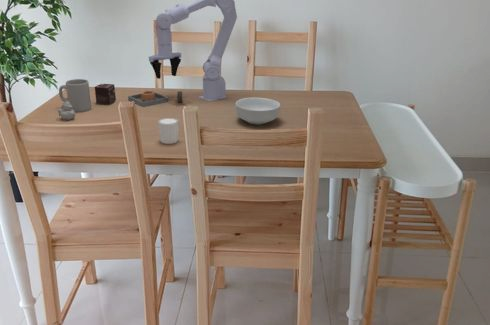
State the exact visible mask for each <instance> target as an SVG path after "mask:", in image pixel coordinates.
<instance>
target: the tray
mask: <svg viewBox="0 0 490 325" xmlns="http://www.w3.org/2000/svg"><path fill="white" fill-rule="evenodd" d="M154 92H155V91H154ZM140 94H141V93H137V94H132V95H128V96H127V99H128V101H129V102H131V101H134V102H135V103H134V102H133V103H134V104H136V105H139V106H141V107H143V108H145V107H150V106H156V105H158V104H164V103H168V102H169V101H170V100H169V97H168V96H166V95H163V94H161V93H158V92H155V100H152V101H147V102H142V101H141V97H140Z"/></svg>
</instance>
